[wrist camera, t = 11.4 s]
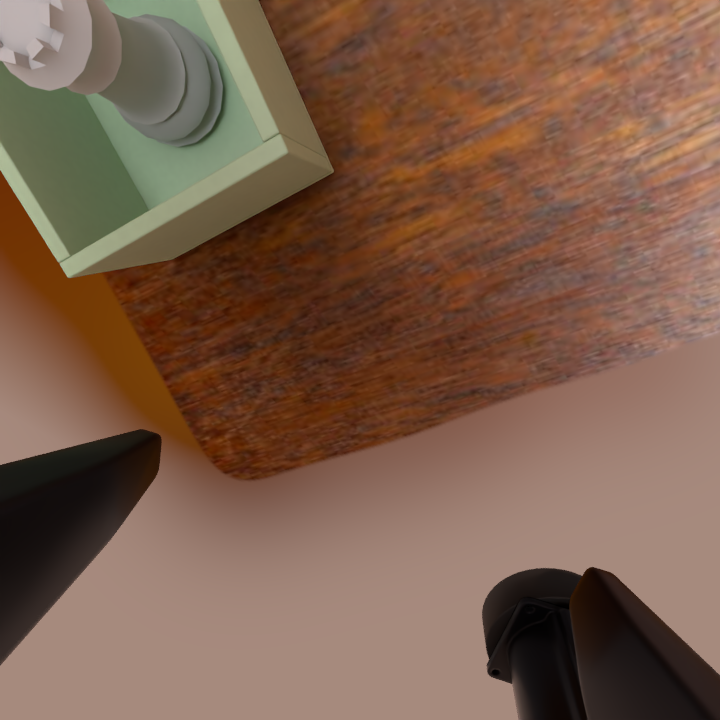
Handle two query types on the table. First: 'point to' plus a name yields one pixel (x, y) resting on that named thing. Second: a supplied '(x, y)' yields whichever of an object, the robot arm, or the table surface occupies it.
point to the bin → (160, 151)
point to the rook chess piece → (116, 63)
